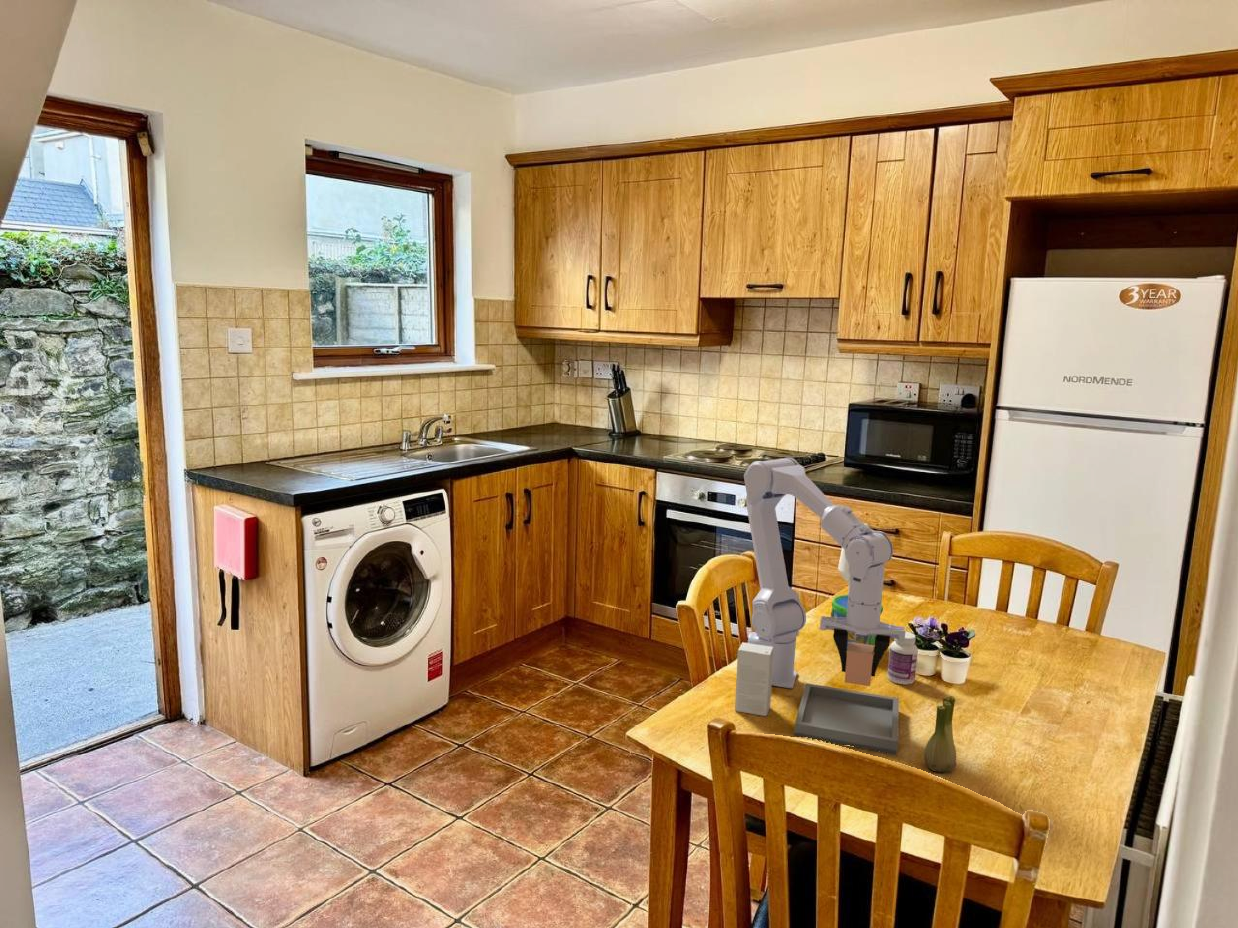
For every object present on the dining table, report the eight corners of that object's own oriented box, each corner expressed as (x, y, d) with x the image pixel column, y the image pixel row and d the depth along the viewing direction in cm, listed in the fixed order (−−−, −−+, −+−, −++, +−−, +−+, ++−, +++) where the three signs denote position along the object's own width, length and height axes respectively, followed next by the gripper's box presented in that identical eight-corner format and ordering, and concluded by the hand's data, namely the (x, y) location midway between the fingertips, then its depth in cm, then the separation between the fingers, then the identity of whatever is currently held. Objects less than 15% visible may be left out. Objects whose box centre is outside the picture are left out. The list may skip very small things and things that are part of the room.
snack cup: (894, 659, 182) (898, 614, 180) (848, 662, 180) (852, 616, 178) (857, 631, 197) (861, 589, 195) (815, 634, 195) (819, 591, 193)
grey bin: (793, 736, 148) (794, 723, 148) (804, 695, 164) (805, 682, 164) (896, 755, 143) (898, 741, 143) (897, 710, 159) (898, 698, 158)
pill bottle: (916, 687, 169) (921, 641, 167) (888, 683, 170) (892, 638, 168) (912, 675, 174) (917, 630, 173) (885, 672, 175) (890, 628, 174)
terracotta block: (844, 682, 153) (847, 650, 152) (845, 672, 157) (848, 641, 156) (870, 686, 152) (873, 654, 150) (870, 676, 156) (873, 645, 155)
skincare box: (770, 707, 159) (774, 646, 156) (766, 717, 155) (771, 655, 153) (738, 701, 161) (742, 641, 158) (733, 711, 157) (737, 649, 154)
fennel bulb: (935, 778, 136) (943, 708, 134) (913, 763, 141) (920, 695, 138) (963, 771, 139) (971, 702, 136) (940, 756, 143) (948, 689, 141)
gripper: (821, 601, 150) (815, 674, 152) (908, 612, 146) (900, 687, 148) (824, 589, 156) (818, 659, 159) (907, 599, 152) (900, 671, 155)
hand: (858, 671), depth 154 cm, fingers closed on terracotta block, 4 cm apart
